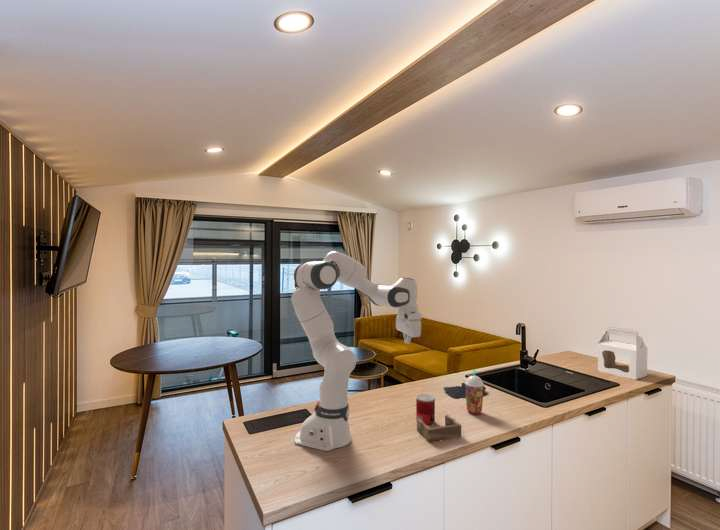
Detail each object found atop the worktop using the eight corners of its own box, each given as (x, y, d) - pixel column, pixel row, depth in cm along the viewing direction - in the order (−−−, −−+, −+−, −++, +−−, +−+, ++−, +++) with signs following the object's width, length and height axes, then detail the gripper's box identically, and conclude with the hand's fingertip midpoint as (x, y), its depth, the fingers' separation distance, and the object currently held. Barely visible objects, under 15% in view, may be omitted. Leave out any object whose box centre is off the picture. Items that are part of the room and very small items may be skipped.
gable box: (597, 370, 243) (597, 326, 243) (608, 367, 250) (608, 325, 249) (636, 380, 224) (637, 332, 223) (647, 377, 231) (648, 330, 230)
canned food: (434, 426, 163) (434, 401, 163) (415, 425, 165) (415, 399, 165) (434, 419, 171) (434, 394, 171) (416, 417, 173) (416, 393, 172)
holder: (416, 430, 160) (416, 418, 160) (447, 426, 164) (447, 414, 164) (428, 442, 149) (428, 430, 149) (461, 437, 154) (461, 425, 154)
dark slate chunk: (439, 390, 209) (439, 382, 209) (475, 386, 215) (475, 378, 215) (454, 400, 194) (454, 391, 194) (491, 396, 200) (491, 387, 200)
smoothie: (461, 410, 181) (461, 368, 180) (475, 408, 184) (476, 366, 183) (472, 417, 173) (472, 373, 172) (487, 414, 176) (487, 371, 175)
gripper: (392, 310, 183) (392, 339, 184) (410, 316, 164) (410, 348, 164) (404, 309, 185) (404, 338, 185) (423, 316, 166) (423, 347, 166)
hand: (407, 343), depth 175 cm, fingers closed
